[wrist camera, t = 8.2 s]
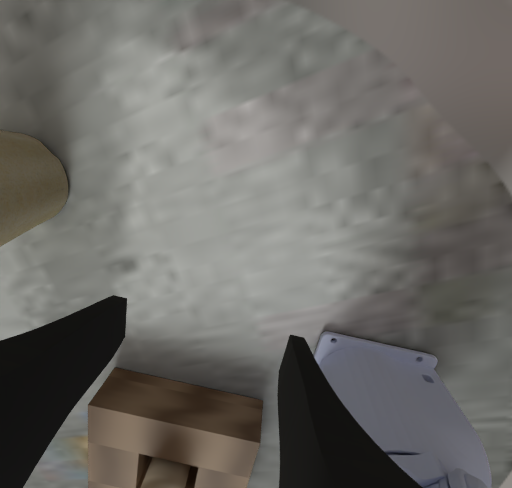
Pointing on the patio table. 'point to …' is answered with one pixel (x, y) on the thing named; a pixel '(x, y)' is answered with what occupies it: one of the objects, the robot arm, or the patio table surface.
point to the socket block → (170, 432)
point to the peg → (166, 474)
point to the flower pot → (28, 184)
